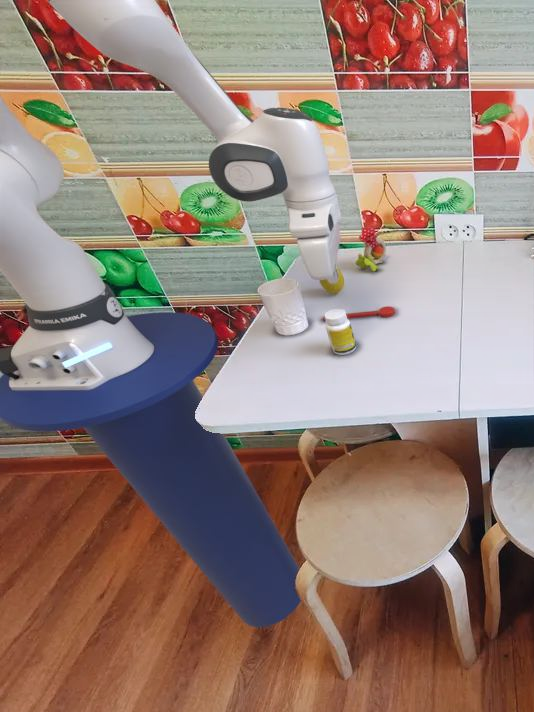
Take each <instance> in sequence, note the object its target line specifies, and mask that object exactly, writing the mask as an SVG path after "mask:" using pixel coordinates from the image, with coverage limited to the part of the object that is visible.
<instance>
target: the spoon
mask: <svg viewBox="0 0 534 712" xmlns="http://www.w3.org/2000/svg"><path fill="white" fill-rule="evenodd" d="M395 314H396V311H395V308H394V307H393V306H388V305H387V306H383V307H381V308H378V310H371V311H362V312H361V311H360V312H352V313H346V316H347V319H348V320H349V319H356V318H366V317H376V316H380V317H382V318H389V317H392V316H394V315H395ZM322 320H323V321H324V322H326V320H325V315H324V316H323V319H322Z"/></svg>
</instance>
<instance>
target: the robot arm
mask: <svg viewBox="0 0 534 712" xmlns="http://www.w3.org/2000/svg"><path fill="white" fill-rule="evenodd" d="M46 2H48V3H49V4H50V6H52V8H53V9H54V10H55V11H56V12H57V13H58V14H59V15H60V17H61V18H63V20H65V22H66V23H67V24H68V25H69V26H70V27H71V28H72V29H74V31H75V32H77V33H78V35H80V36H81V37H82V38H83V39H84V40H86V41H87V42H88V43H89V44H90V45H91V46H92V47H94V48H95V49H96V50H97V51H98V52H100V53H101V54H102V55H104V56H105V57H107V58H109V59H111V60H113V61H115V62H118V63H121V64H124V65H126V66H129V67H132V68H135V69H137V70H139V71H142V72H144V73H146V74H148V75H150V76H152V77H154V78H156V79H157V80H159V81H160V82H162V83H164V85H166V86H167V87H168V88H169V89H170V90H171V91H172V92H174V93H175V94H176V95H177V97H179V98H180V100H181V101H182V102H183V103H184V104H185V105H186V106H187V107H188V108H189V109H190V110H191V111H192V113H193V114H195V116H196V117H197V118H198V119H199V120H200V122H202V123H203V124H204V125H205V127H206V128H207V129H208V130H209V131H210V132H211V133H212V135H213V136H214V138H215V140H216V142H217V144H216V145H215V146H214V148H213V149H212V151H211V153H210V155H209V159H208V171H209V174H210V176H211V179H212V180H213V182H214V183H215V185H216V186H217V187H218V189H220V191H222V192H223V193H224V194H226V195H227V196H229V197H230V198H233V199H235V200H237V201H240V202H245V203H246V202H257V201H261V200H263V199H264V200H265V199H268V198H273V197H275V196H277V195H282V196H283V201H284V203H285V206H286V212H287V214H288V230H289V233H290V236H291V238H292V239H296V243H297V247H298V250H299V253H300V256H301V258H302V261H303V263H304V266H305V268H306V271H307V274H308V275H309V277H310V278H311V279H312V280H313V281H320V280H324V279H328V282H329V283H337V282H338V277H339V273H338V269H337V267H338V262H337V261H338V260H337V257H338V252H339V248H340V243H341V240H342V239H341V237H342V236H341V231H340V227H339V224H338V222H339V221H341V219H342V217H343V216H342V212H341V208H340V204H339V199H338V195H337V191H336V188H335V186H334V184H333V183H332V180H331V176H330V164H329V163H330V162H329V159H328V155H327V152H326V148H325V145H324V142H323V139H322V136H321V133H320V131H319V128H318V126H317V124H316V123H315V121H314V119H313V118H312V117H310V116H309V115H308V114H307V113H305V112H304V111H300V110H299V109H294V108H288V107H287V108H286V107H268V108H266V109H263V111H262V112H261V113H260V115H259V116H258V117H256V118H255V120H254V119H252V118H251V117H250V116H249V115H248V114H246V113H245V112H244V111H243V110H242V109H241V108H240V107H239V106H238V104H236V103H235V102H234V100H233V99H232V98H231V96H230V95H229V94H228V93H227V92H226V90H225V89H224V88H223V87H222V86H221V85H220V84H219V82H218V81H217V80H216V79H215V78H214V76H213V75H212V74H211V73H210V72H209V70H208V69H207V68H206V67H205V66H204V65H203V63H202V62H201V61H200V60H199V58H198V57H197V56H196V55H195V54H194V53H193V51H192V50H191V49H190V48H189V46H188V45H187V44H186V42H185V40H184V39H183V38H182V37H181V35H180V34H179V33H178V31H177V29H176V28H175V27H174V26H173V25H172V22H171V21H170V20H169V19H168V17H167V15H166V14H165V13H164V11H163V10H162V8H161V7H160V6H159V4H158V3H157V1H156V0H46ZM64 170H65V169H64V167H63V164H62V162H61V161H60V158H59V157H58V155H57V154H56V153H55V152H54V151H53V150H52V149H51V148H50V147H49V146H48V145H46V144H45V143H44V142H42V141H41V140H39V139H38V138H36V137H34V136H33V135H32V134H31V133H30V132H29V131H28V130H27V129H26V127H25V126H24V125H23V124H22V122H21V121H20V120H19V118H18V117H17V116H16V115H15V114H14V112H13V111H12V110H11V108H10V107H9V106H8V105H7V103H6V102H5V100H4V99H3V97H2V96H1V95H0V272H1V273H0V274H2V275H3V276H4V278H5V279H6V280H7V281H8V282H9V284H10V285H11V286H12V288H13V289H14V290H15V291H16V293H17V295H18V296H19V297H20V298H21V299H22V300H23V302H24V303H25V304H24V305H23V306H22V307H21V310H19V311H18V312H17V313H16V314H14V317H18V319H17V321H22V320H23V319H24V318H25V317H27V320H28V325H29V326H28V327H26V329H25V330H24V332H23V333H22V335H21V336H20V337H19V338H18V339H17V341H16V342H15V344H14V345H13V346H9V347H3V348H0V372H1V374H2V375H3V374H5V375H7V376H9V377H11V378H10V380H9V386H10V388H11V389H12V390H13V391H47V390H91V389H94V388H96V387H98V386H100V385H101V384H103V383H105V382H106V381H108V380H110V379H113V378H115V377H118V376H120V375H123V374H125V373H127V372H129V371H131V370H133V369H135V368H137V367H138V366H140V365H141V364H143V363H144V362H145V361H147V360H148V359H149V358H150V356H151V355H152V354H153V352H154V345H153V344H152V343H151V342H150V341H149V340H147V339H146V338H145V337H144V336H143V335H142V334H141V333H140V332H139V331H138V330H137V329H136V328H135V326H134V325H133V324H132V323H131V322H130V320H129V319H128V318H127V315H126V314H125V312H124V310H123V306H122V305H121V303H120V301H119V300H118V298H117V296H116V294H115V293H114V292H113V290H112V288H111V287H110V286H109V284H107V283H106V282H104V281H103V280H102V277H101V276H100V275H99V273H98V271H97V270H96V267H95V266H94V265H93V263H92V261H91V260H90V259H89V256H88V255H87V253H86V252H85V250H84V249H83V247H82V246H81V245H80V244H79V243H77V242H76V241H75V240H72V239H69V238H66V237H62V236H61V235H59V234H58V233H57V231H55V230H54V229H53V228H52V227H51V226H49V224H47V223H46V222H45V220H44V219H43V218H42V216H41V215H40V214H39V212H38V208H39V207H40V206H42V205H45V204H46V202H49V201H50V200H52V199H53V198H54V197H55V195H56V194H57V192H58V191H59V189H60V188H61V185H62V183H63V181H64V178H65V171H64ZM14 371H15V372H14ZM11 372H14V373H11Z"/></svg>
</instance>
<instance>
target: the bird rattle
mask: <svg viewBox="0 0 534 712" xmlns="http://www.w3.org/2000/svg"><path fill="white" fill-rule="evenodd" d="M358 239H359V241H360V242H362V243H364V245H365V246H364V250H363V254H362V253H358V255H357V256H358V258H357V259H356V261H355V263H354V264H355V265H356V266H358V267H361V268H362V269H363V270H367V269H368V268H370V270H371V271H372V272H376V271H379V270H380V269H379V267H378V266H377V265H378V264H382V263H383V260H384V258H385V256H386V252H387V245H386V243H385V241H384V240H383V239H382V238H380V237H379V233H376V228H374V227H370V228H367V227H361V234H360V235H359V236H358Z"/></svg>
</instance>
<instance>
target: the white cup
mask: <svg viewBox="0 0 534 712" xmlns="http://www.w3.org/2000/svg"><path fill="white" fill-rule="evenodd" d="M257 293H258V295H259V298H260V300H261V302H262V304H263V307H264V309H265V311H266V313H267V315H268V317H269V319H270V321H271V323H272V324H273V327H274V330H275V331H276V333H278V334H279V335H281V336H295V335H298V334H300V333H302V332H304V331H306V329H307V328H308V327H309V321H308V317H307V311H306V307H305V303H304V300H303V296H302V292H301V288H300V285H299V282H298V280H297V279H294V278H289V277H281V278H276V279H270V280H267V281H266V282H263V283H262V284H261V285H260V286H259V287H258V288H257Z"/></svg>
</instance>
